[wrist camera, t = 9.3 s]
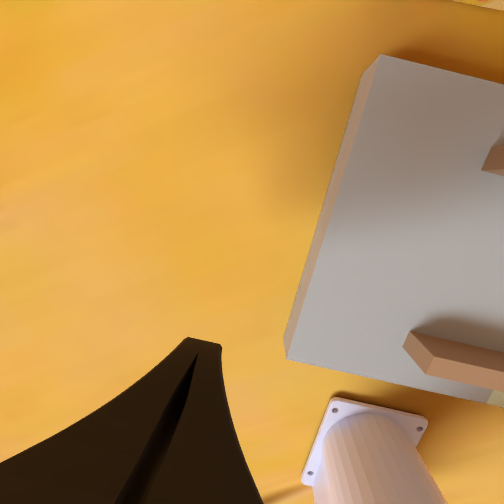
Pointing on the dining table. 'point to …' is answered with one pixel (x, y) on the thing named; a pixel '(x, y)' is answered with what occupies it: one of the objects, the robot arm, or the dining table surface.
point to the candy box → (485, 3)
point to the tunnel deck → (411, 238)
